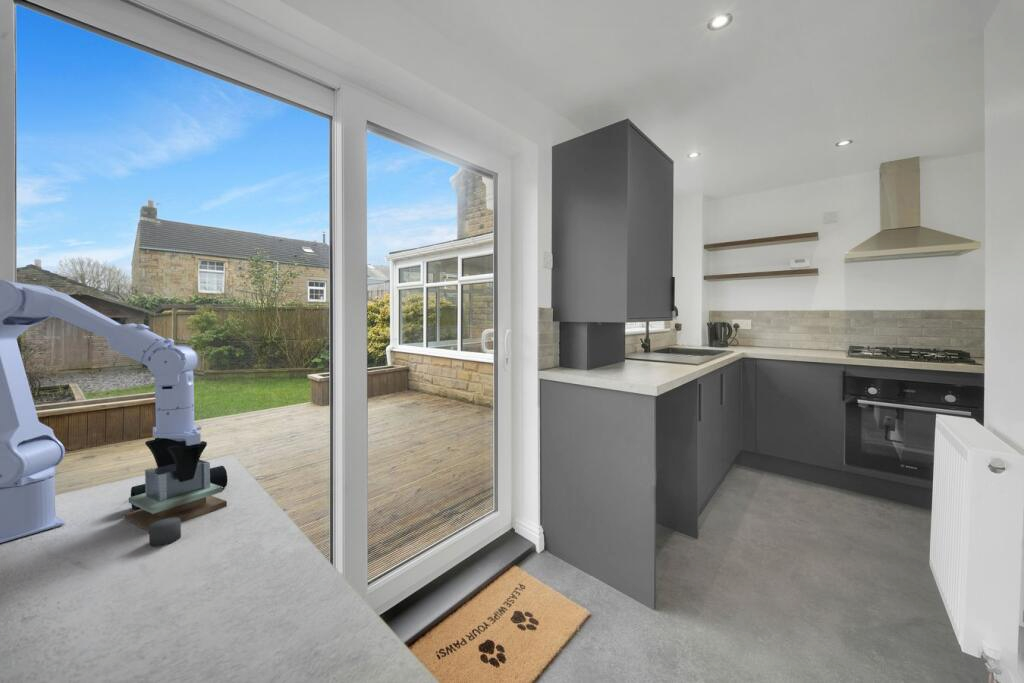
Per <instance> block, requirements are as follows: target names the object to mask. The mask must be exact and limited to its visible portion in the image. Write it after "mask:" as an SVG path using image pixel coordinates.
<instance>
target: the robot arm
mask: <svg viewBox="0 0 1024 683" xmlns="http://www.w3.org/2000/svg"><path fill="white" fill-rule="evenodd" d="M50 318H58V319H60V320H62V321H65V322H67V323H69V324H72V325H74V326H77V327H79V328H81V329H83V330H86V331H88V332H90V333H93V334H95V335H97V336H100V337H102V338H104V339H106V341H107V345H108V347H109V349H112V350H113V351H115V352H117V353H119V354H121V355H123V356H126V357H128V358H129V359H132V360H134V361H136V362H138V363H140V364H143V365H145V366H147V369H148V371H149V372H150V373H151V374H153V375H152V376H154V396H155V400H154V401H155V403H154V405H155V426H153V427H152V437H154V439H152V440H151V439H150V440H147V441H145V446H146V447H147V448H148V449H149V451H150V452H151V454H152V456H153V458H154V460H155V464H156V468H159V467H163V466H167V465H171V464H175V467H176V473H177V478H178V480H179V482H184V481H188V480H191V479H193V478H194V475H195V472H196V468H197V464H198V461H199V460H200V458H201V456H202V454H203V452H204V450H205V449H206V447H207V446H208V442H207V441H205V440H202V438H201V436H202V435H201V432H198V431H201V430H202V426H201V425H196V424H195V389H194V387H195V385H194V384H195V383H194V370H195V369H196V368H197V367H198V365H199V355H198V353H197V352H196V351H195V350H194V349H193V348H191V347H190V346H189V345H186V344H177V345H175V344H174V343H175V340H174V339H173V338H170V337H169V338H164V337H162V336H161V335H158V334H157V333H154V332H153V331H150V330H149V329H150V326H148V325H146V324H144V323H138V324H136V323H133V322H132V323H131V322H130V323H125V324H121V323H120V322H118V321H116V320H114V319H112V318H110V317H108V316H107V315H104V314H102V313H101V312H99V311H97V310H95V309H93V307H90V306H88V305H86V304H84V303H82V302H81V301H79V300H77V299H76V298H73V297H71V296H70V295H69V294H67V293H64V292H61V291H58V290H55V288H52V287H50V286H48V285H42V284H37V285H36V284H30V283H29V284H28V283H22V282H17V281H16V282H15V281H9V280H5V279H0V544H2V543H5V542H9V541H12V540H15V539H19V538H23V537H25V536H30V535H32V534H37V533H39V532H43V531H47V530H49V529H53V528H58V527H60V526H63V525H65V521H64V520H63V519H61V518H59V517H58V516H56V514H57V513H56V484H55V483H56V479H55V478H56V477H55V473H56V472H57V466H59V465H60V464H61V463H62V462H63V460H64V458H65V455H66V450H65V448H66V447H65V446H64V444H63V443H62V442H61V441H60V440H59V439H58V438H57V437H56V435H55V433H54V430H53V429H52V428H51V427H50V426H47V425H46V424H44V423H42V422H40V421H39V417H38V414H37V408H36V407H35V402H34V398H33V395H32V391H31V388H30V385H29V381H28V377H27V374H26V371H25V366H24V361H23V358H22V355H21V350H20V347H19V344H18V340H17V338H18V337H19V336H21V335H22V334H23V333H24V332H26V331H27V330H28V329H29V328H30V327H31V328H32V327H33V326H36V325H38V324H40V323H41V322H44V321H47V320H49V319H50Z"/></svg>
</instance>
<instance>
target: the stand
mask: <svg viewBox="0 0 1024 683" xmlns="http://www.w3.org/2000/svg"><path fill="white" fill-rule="evenodd" d="M219 493H223V488H222V487H221V486H218V485H215V484H212V483H210V487H209V488H206V489H200V490H196V491H193V492H190V493H186V494H183V495H180V496H176V497H173V498H170V499H167V500H166V501H163V502H158V501H156V500H154V499H151V498H149V497H146V493H143V494H140V495H136V496H133V497H131V496H129V497H128V504H130V505H131V504H132V505H135V506H137V507H139V508H141V509H139V510H136V511H134V510H133V511H130V512H127V513H124V520H126V521H128V522H129V523H131V524H133V525H136V527H139V528H141V529H143V530H145V531H147V532H149V526H150V525H151V524H153V523H155V522H157V521H160V520H163V519H167V518H180V519H181V523H182V522H185V521H189V520H191V519H193V518H196V517H199V516H203V515H205V514H208V513H211V512H213V511H217V510H220V509H222V507H223V508H225V507H228V502H227V500H225V499H222V498H219V497H217V496H213V495H216V494H219ZM132 505H131V506H132Z"/></svg>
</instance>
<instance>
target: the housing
mask: <svg viewBox="0 0 1024 683" xmlns="http://www.w3.org/2000/svg"><path fill="white" fill-rule="evenodd" d="M210 468H211V463H210V462H209V461H206V460H202V459H199V461H198V464H197V468H196V472H195V475H194V478H193V479H191V480H188V481H184V482H179V480H178V478H177V473H176V467H175V464H171V465H167V466H163V467H159V468H158V467H155V468H148V469H144V475H145V476H144V477H145V478H144V480H145V482H144V484H145V491H146V497H149V498H151V499H154V500H156V501H158V502H163V501H166V500H167V499H170V498H173V497H176V496H180V495H183V494H186V493H190V492H193V491H196V490H200V489H206V488H209V487H210Z"/></svg>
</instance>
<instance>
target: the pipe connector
mask: <svg viewBox="0 0 1024 683" xmlns="http://www.w3.org/2000/svg"><path fill="white" fill-rule="evenodd" d="M210 483H212V484H215V485H218V486H221V487H225V486H226V487H227V484H228V472H227V469H226V468H225V466H224V465H219V466H215V467H210ZM226 487H225V488H226ZM143 493H146V491H145V483H143V484H139V485H133V486H132V487H131V489H130V497H133V496H136V495H140V494H143ZM130 505H131V509H132V510H133V511H136V510H139V509H141V508H139V507H137V506H135V505H132V504H130Z"/></svg>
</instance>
